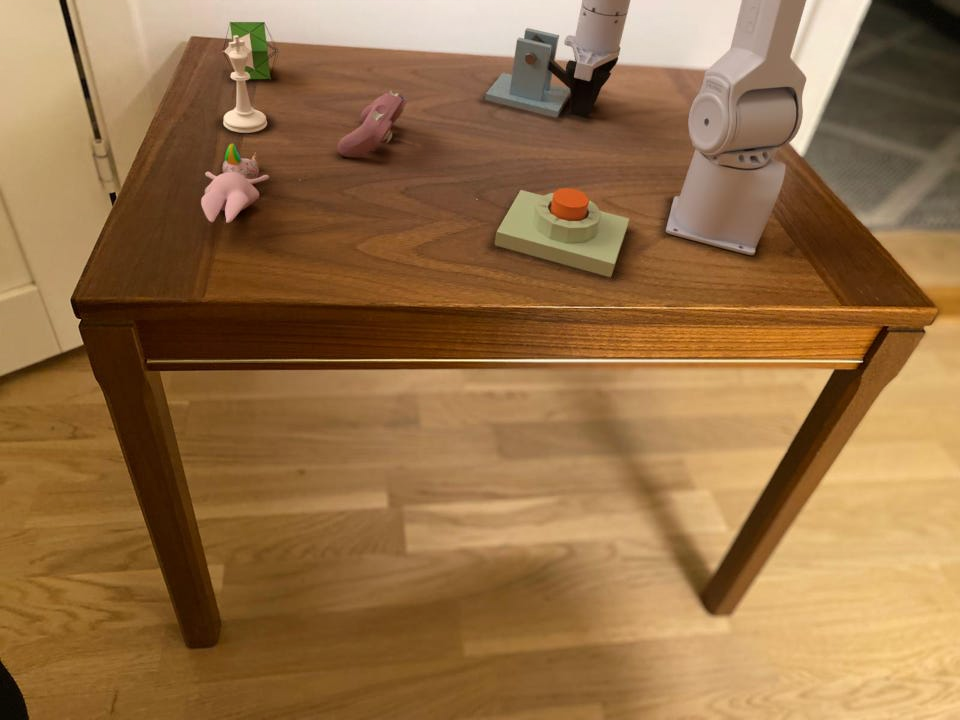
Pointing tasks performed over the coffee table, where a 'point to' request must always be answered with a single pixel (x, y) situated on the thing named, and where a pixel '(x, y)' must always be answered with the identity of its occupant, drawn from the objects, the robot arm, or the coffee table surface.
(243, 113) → the chess piece
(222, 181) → the pink plush unicorn
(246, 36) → the geometric puzzle
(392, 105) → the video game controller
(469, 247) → the coffee table surface
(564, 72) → the switch lever
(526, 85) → the switch bracket
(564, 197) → the button
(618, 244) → the button block
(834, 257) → the coffee table surface
